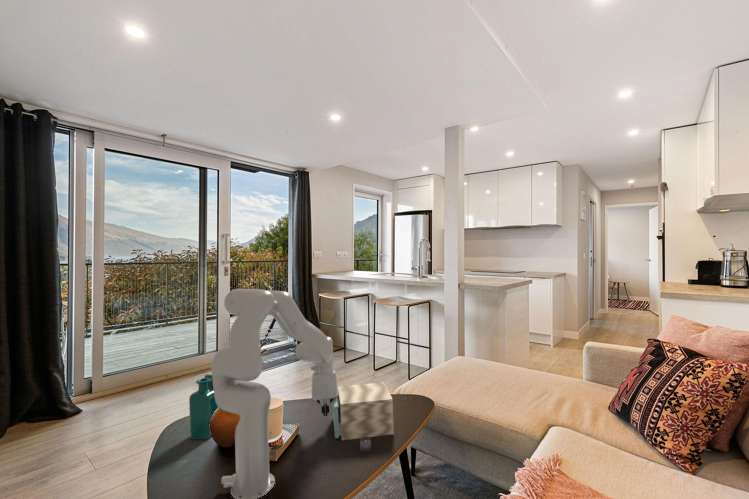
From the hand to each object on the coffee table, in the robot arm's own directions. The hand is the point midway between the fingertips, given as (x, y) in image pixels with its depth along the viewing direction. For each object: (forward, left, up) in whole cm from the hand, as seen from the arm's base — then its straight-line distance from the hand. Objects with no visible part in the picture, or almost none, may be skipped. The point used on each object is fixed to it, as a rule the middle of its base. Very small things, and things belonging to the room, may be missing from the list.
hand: (325, 414), depth 138 cm
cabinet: (+16, 0, -6) cm, 17 cm away
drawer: (+13, 0, -5) cm, 14 cm away
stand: (+14, -17, -6) cm, 23 cm away
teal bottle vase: (-47, +8, -6) cm, 48 cm away
